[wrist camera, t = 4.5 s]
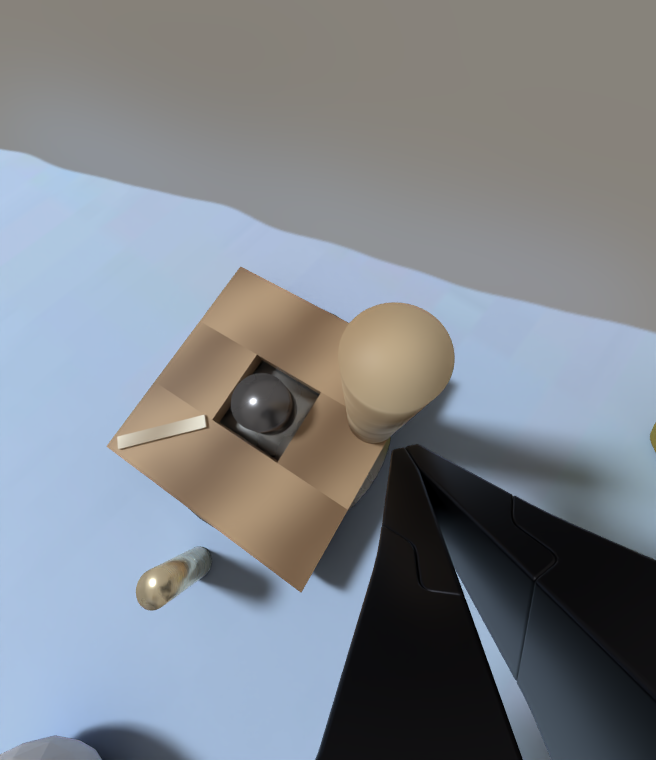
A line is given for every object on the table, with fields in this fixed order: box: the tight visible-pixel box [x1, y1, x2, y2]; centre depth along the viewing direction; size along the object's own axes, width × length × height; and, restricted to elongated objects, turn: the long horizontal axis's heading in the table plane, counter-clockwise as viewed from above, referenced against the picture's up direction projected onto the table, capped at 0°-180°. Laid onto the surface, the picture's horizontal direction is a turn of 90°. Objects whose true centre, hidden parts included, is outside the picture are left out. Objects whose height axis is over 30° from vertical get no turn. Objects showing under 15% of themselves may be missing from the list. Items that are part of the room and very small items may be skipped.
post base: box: [136, 313, 391, 610], centre depth 17 cm, size 14×17×4 cm
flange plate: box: [107, 267, 454, 592], centre depth 13 cm, size 13×13×11 cm
